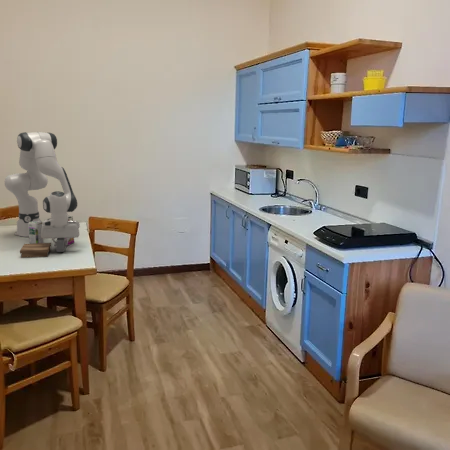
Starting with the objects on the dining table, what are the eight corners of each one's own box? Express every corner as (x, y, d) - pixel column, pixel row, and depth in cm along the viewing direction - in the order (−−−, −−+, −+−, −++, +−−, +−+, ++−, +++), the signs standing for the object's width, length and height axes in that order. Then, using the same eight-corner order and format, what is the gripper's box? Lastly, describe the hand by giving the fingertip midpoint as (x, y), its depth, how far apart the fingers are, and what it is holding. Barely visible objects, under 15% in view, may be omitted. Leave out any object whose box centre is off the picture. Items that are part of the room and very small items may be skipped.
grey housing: (58, 246, 269) (57, 236, 268) (65, 246, 270) (65, 236, 269) (56, 251, 260) (55, 241, 258) (64, 251, 260) (63, 241, 259)
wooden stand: (25, 250, 265) (24, 243, 264) (51, 249, 268) (50, 242, 267) (20, 257, 252) (19, 250, 251) (48, 256, 255) (47, 249, 254)
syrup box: (29, 247, 273) (27, 222, 269) (35, 244, 278) (34, 220, 275) (37, 247, 271) (36, 223, 268) (44, 245, 277) (42, 221, 274)
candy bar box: (66, 241, 285) (65, 215, 281) (74, 242, 284) (73, 215, 280) (56, 246, 274) (55, 219, 271) (64, 247, 273) (63, 219, 270)
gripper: (79, 219, 266) (80, 243, 270) (41, 220, 262) (42, 244, 265) (78, 222, 260) (80, 246, 264) (39, 223, 256) (41, 247, 259)
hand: (61, 245), depth 264 cm, fingers closed on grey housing, 4 cm apart
